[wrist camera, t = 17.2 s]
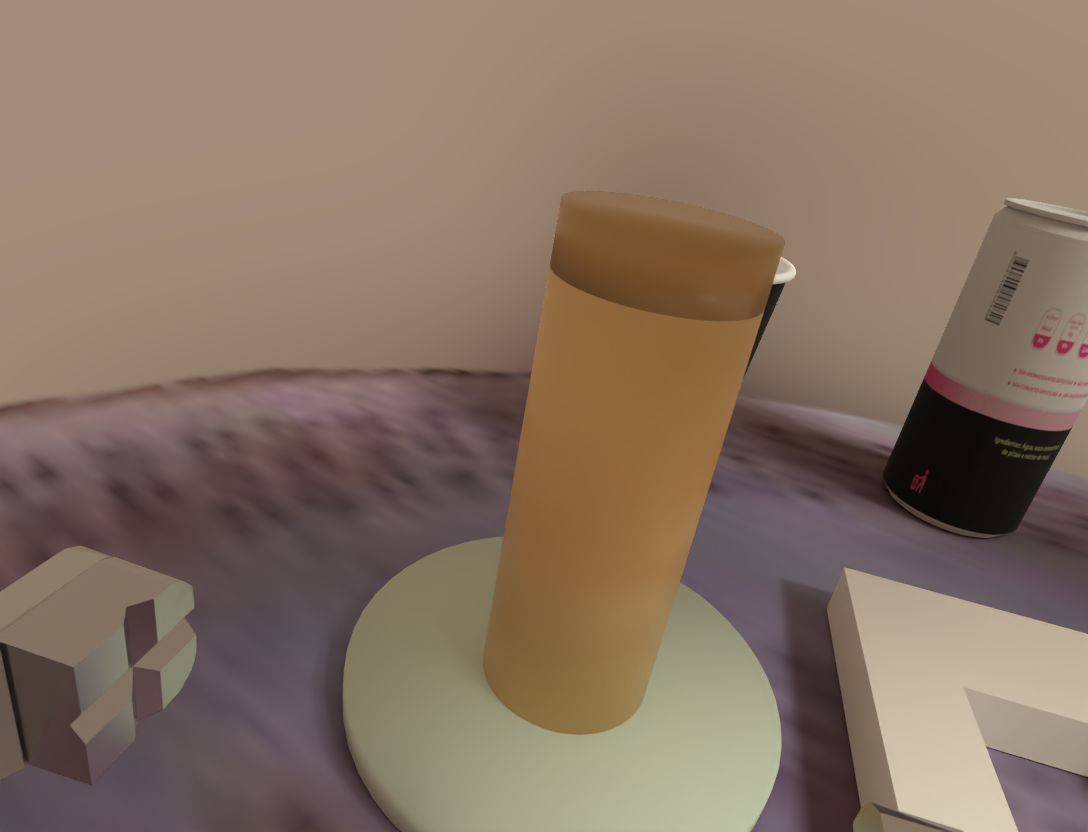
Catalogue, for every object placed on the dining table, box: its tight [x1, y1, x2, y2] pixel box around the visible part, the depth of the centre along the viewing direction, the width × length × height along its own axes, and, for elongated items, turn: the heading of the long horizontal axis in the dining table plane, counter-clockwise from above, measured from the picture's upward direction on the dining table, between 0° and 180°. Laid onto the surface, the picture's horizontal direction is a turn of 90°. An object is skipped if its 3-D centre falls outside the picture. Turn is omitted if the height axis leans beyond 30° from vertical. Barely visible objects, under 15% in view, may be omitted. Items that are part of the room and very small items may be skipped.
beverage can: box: [883, 198, 1088, 538], centre depth 35 cm, size 6×7×15 cm
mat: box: [342, 536, 782, 832], centre depth 22 cm, size 13×13×1 cm
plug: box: [483, 191, 785, 735], centre depth 19 cm, size 5×5×14 cm
